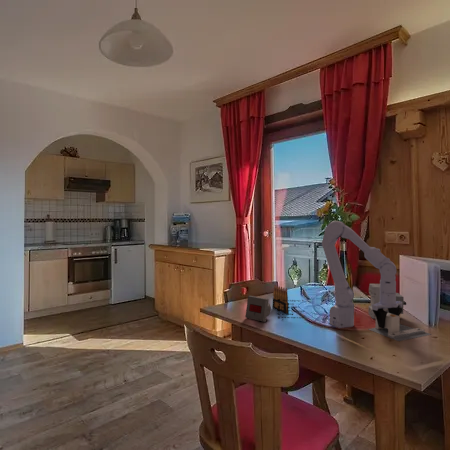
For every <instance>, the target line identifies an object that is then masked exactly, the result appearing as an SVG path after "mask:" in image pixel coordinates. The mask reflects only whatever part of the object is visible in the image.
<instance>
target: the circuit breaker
mask: <svg viewBox="0 0 450 450" xmlns="http://www.w3.org/2000/svg"><path fill="white" fill-rule="evenodd" d="M368 293H369V296H370V305H368V310H367V311H368V315H369V317H371V319H374V320H376V316H375V314H374V312H373V309H372V304H376V303H378V302H380V283H369V286H368ZM396 301H400V302H402V307H399V308H402V312H401V313H400V315H403V314H404V306H406V305H407V302H406V301H404V296H403V295H402V294H400V293H399V292H396ZM383 310H384V311H386V312H388V313H389V311H388V308H386V309H383Z"/></svg>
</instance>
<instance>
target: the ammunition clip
mask: <svg viewBox="0 0 450 450" xmlns="http://www.w3.org/2000/svg"><path fill="white" fill-rule="evenodd" d="M272 296H273V298H272V305H271V306H272V309H273V310H275V311H277V310H281V312H280V313H281V314H284V313H285V315H286V314H287V313H288V314H290V312H289V311H290V308H287V307H290V304H289V305H287V304H286V303H289V301H288V300H289V296H288V289H287V287H286V288H285V287H282V286H280V285H276V284H274V285H273V294H272ZM278 299H280V301H278ZM283 300H286V301H283ZM278 302H279V304H280V305H279V304H278ZM282 303H285V305H282ZM278 306H280V309H278ZM283 307H284V308H283ZM285 307H286V308H285ZM282 310H284V311H282ZM285 310H286V311H285ZM288 310H289V311H288Z"/></svg>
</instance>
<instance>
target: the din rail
mask: <svg viewBox="0 0 450 450" xmlns="http://www.w3.org/2000/svg"><path fill="white" fill-rule="evenodd" d="M425 332H426V331H425V329H423V328H419V327H417V328H414V329H410V330H405V331H400V332H394V333H389V334H388V337H387V338H389V337H391V338H390V339H392V338H393V339H392V340H394V339H395V338H400V337H405V336H410V335H415V334H420V333H425Z"/></svg>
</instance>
